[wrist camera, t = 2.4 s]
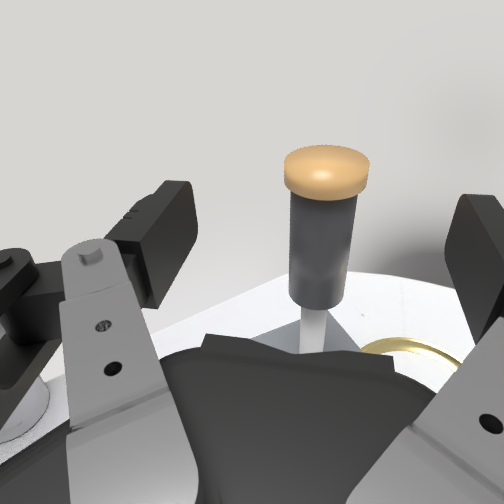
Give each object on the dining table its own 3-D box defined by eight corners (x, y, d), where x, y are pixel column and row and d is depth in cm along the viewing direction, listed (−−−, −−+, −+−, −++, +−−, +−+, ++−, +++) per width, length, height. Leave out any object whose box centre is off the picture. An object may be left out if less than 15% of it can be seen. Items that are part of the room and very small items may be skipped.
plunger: (274, 402, 39) (270, 155, 23) (313, 384, 41) (337, 139, 24) (297, 444, 36) (312, 188, 19) (339, 423, 37) (387, 167, 21)
